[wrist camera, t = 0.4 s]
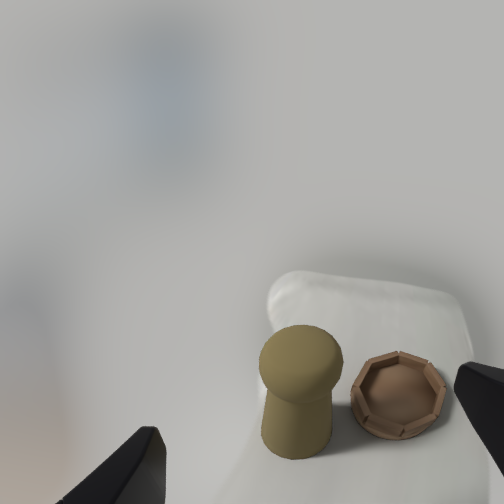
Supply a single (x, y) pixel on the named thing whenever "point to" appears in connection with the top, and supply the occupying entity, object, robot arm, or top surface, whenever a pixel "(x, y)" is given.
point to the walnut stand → (397, 395)
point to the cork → (299, 390)
